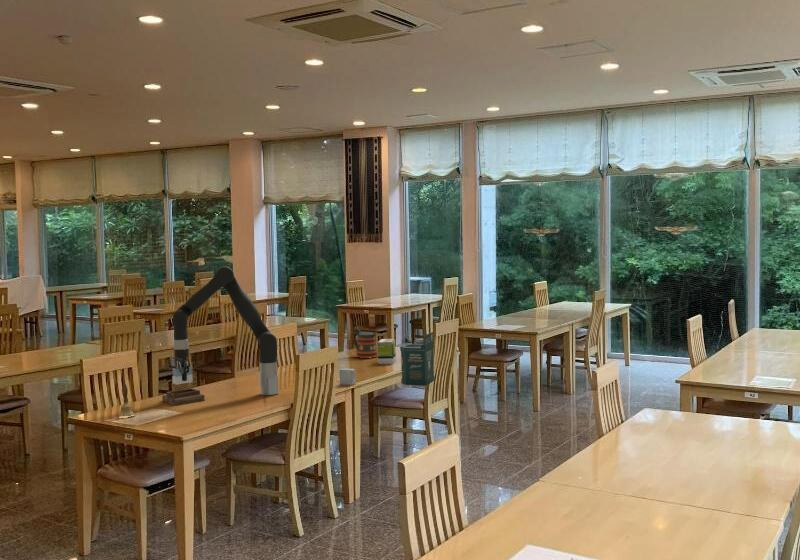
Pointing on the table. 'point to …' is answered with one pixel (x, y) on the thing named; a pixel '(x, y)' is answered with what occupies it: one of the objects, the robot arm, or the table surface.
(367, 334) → the beer stein
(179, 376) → the housing
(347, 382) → the medicine box
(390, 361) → the tea box
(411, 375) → the donation box
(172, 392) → the walnut stand
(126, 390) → the hand bell
